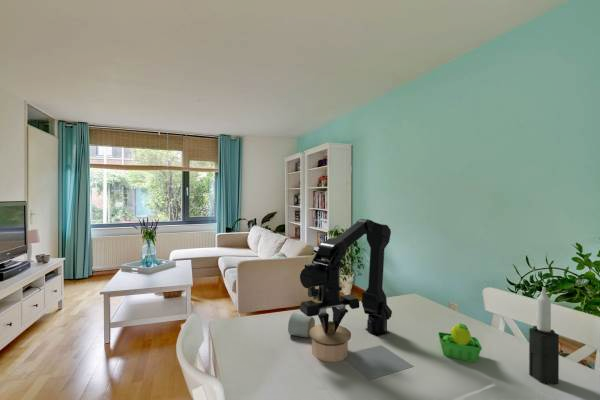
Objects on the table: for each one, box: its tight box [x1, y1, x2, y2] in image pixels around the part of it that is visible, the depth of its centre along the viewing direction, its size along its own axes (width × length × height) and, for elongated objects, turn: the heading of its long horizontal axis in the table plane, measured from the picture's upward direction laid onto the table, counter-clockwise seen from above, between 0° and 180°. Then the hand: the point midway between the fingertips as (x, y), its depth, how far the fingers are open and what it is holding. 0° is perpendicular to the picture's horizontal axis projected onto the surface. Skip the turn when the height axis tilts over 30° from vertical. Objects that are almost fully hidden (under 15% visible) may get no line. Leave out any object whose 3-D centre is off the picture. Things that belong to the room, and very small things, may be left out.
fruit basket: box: [437, 322, 483, 363], centre depth 93 cm, size 11×9×11 cm
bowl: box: [311, 338, 349, 363], centre depth 93 cm, size 11×11×5 cm
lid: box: [309, 320, 352, 344], centre depth 93 cm, size 13×13×4 cm
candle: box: [528, 286, 560, 385], centre depth 81 cm, size 5×5×25 cm
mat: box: [344, 344, 415, 381], centre depth 89 cm, size 16×14×1 cm
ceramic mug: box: [287, 311, 316, 339], centre depth 107 cm, size 11×8×8 cm
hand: (330, 332), depth 93 cm, fingers closed on lid, 3 cm apart
